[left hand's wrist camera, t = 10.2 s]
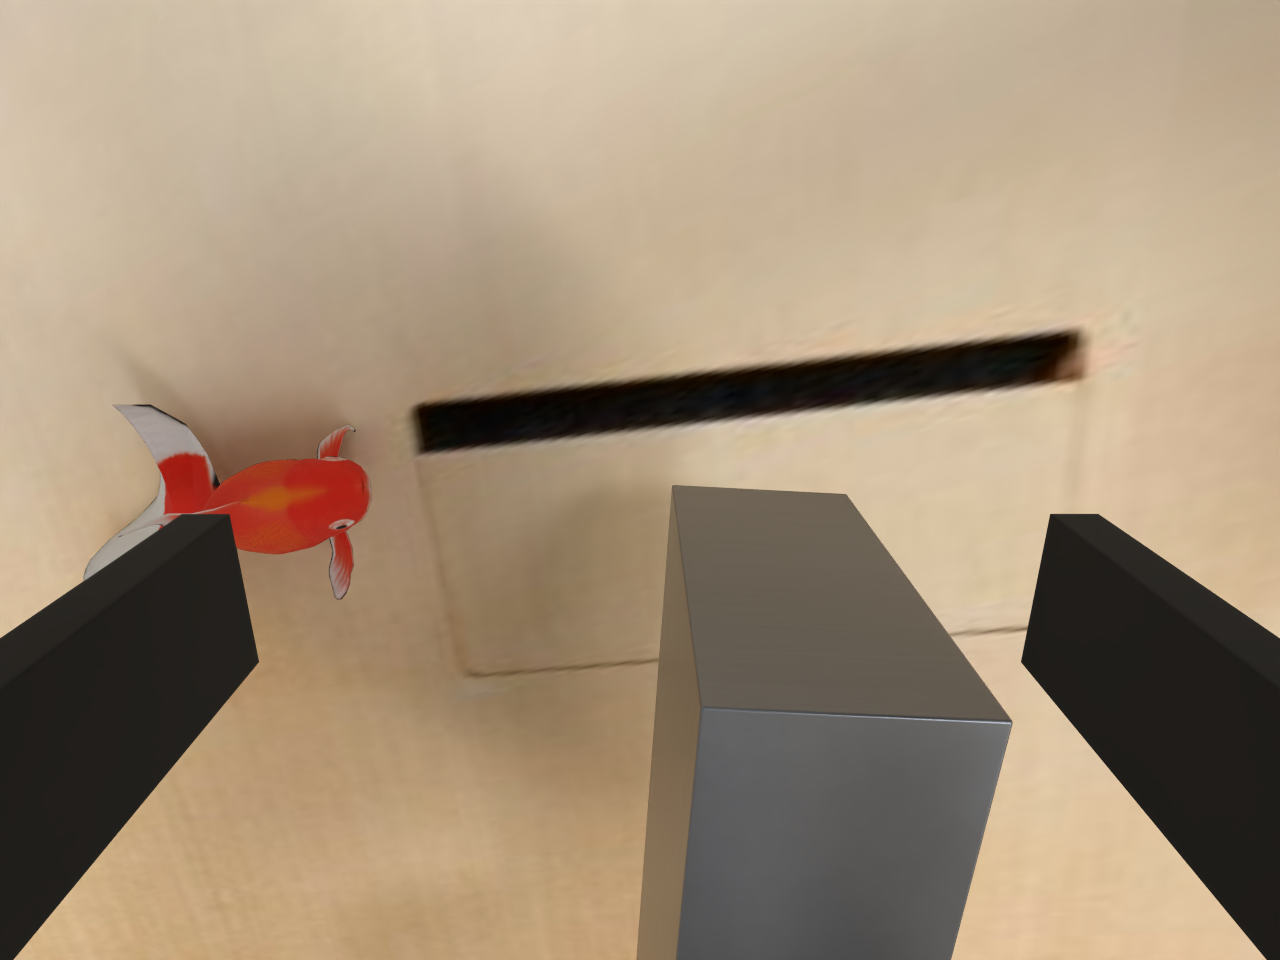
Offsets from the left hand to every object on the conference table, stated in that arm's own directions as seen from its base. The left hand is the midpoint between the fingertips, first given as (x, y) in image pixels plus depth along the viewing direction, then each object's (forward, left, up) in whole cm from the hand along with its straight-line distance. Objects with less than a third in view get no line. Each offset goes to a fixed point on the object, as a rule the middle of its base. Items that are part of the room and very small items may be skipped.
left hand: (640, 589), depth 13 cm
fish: (+16, -12, -25) cm, 32 cm away
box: (+12, +11, -13) cm, 21 cm away
